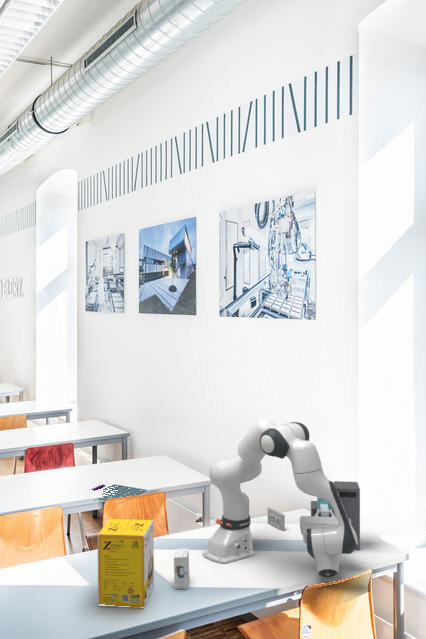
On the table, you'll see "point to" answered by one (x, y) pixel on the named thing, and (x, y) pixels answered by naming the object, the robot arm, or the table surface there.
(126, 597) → the packaging box
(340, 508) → the robot arm
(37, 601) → the table surface
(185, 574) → the ink box
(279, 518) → the cassette
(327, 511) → the plug
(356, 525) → the rack
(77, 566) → the table surface
